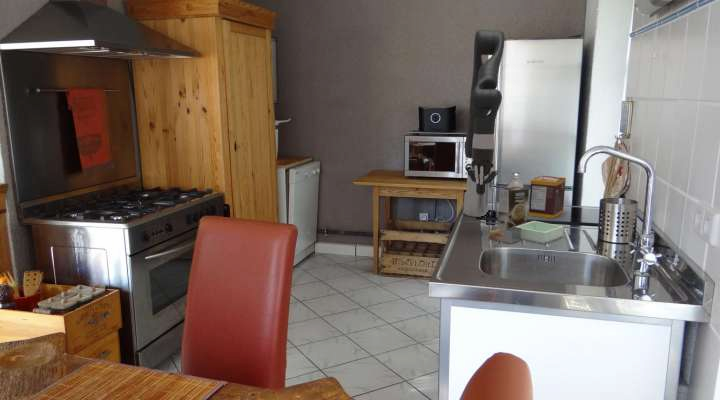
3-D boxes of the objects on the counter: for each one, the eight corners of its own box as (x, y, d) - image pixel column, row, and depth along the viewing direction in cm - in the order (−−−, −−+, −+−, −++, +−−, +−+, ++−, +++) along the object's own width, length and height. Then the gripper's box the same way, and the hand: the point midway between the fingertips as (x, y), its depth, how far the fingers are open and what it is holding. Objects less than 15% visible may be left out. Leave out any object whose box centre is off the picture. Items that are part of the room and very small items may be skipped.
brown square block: (488, 239, 189) (489, 231, 188) (497, 236, 193) (498, 228, 192) (503, 243, 185) (504, 234, 184) (512, 239, 189) (513, 231, 188)
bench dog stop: (503, 242, 185) (504, 229, 184) (512, 239, 189) (513, 226, 188) (511, 244, 182) (511, 231, 182) (520, 240, 186) (521, 228, 186)
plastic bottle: (503, 223, 211) (506, 173, 207) (505, 220, 217) (508, 171, 213) (520, 225, 208) (523, 174, 205) (522, 221, 215) (525, 172, 211)
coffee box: (508, 233, 196) (511, 190, 193) (496, 229, 202) (498, 187, 199) (526, 230, 200) (529, 188, 197) (514, 227, 206) (517, 186, 203)
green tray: (513, 237, 191) (514, 226, 190) (533, 231, 200) (533, 220, 199) (544, 244, 182) (544, 232, 182) (562, 237, 192) (563, 226, 191)
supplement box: (563, 212, 232) (566, 177, 229) (552, 219, 220) (555, 181, 217) (539, 209, 238) (542, 175, 235) (528, 215, 226) (530, 179, 223)
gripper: (461, 145, 191) (459, 192, 195) (493, 149, 181) (490, 198, 185) (473, 144, 196) (471, 190, 200) (505, 147, 186) (502, 195, 190)
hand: (480, 194), depth 192 cm, fingers closed
